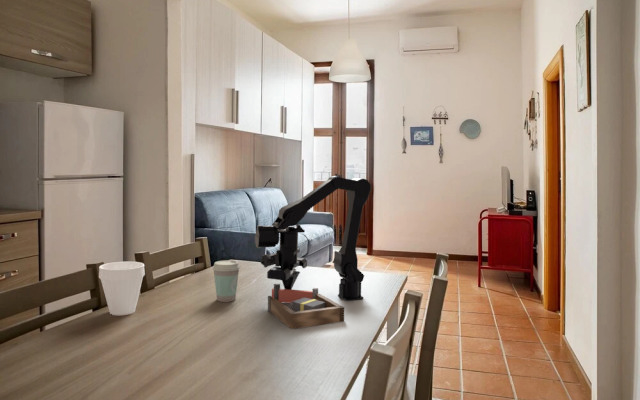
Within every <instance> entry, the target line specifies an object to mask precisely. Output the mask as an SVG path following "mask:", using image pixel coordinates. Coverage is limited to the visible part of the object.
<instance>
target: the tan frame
mask: <svg viewBox="0 0 640 400" xmlns="http://www.w3.org/2000/svg"><path fill="white" fill-rule="evenodd" d="M315 300H318V301H322V302H326V308H321V309H314V310H306V311H298V312H294V311H292V308H290V307H288V306H287V305H285V304H284V303H283V302H279V301H278V300H277V299H273V297H272V295H267V311H268V312H269V313H270V314H271V315H272V316H274V317H275V318H277V319H278V320H279V321H280V322H282V323H283V324H284V325H286V326H287V327H289V329H291V330H293V329H301V328H308V327H315V326H321V325H322V326H323V325H327V324H328V325H329V324H334V323H336V324H337V323H343V322H345V306H342V305H341V304H339V303H337V302H335V301H334V300H332V299H330V298H328V297H326V296H325V295H323V294H321V293H318V294H315Z"/></svg>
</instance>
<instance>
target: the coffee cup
mask: <svg viewBox="0 0 640 400" xmlns="http://www.w3.org/2000/svg"><path fill="white" fill-rule="evenodd" d="M240 267H241V266H240V264H239V261H237V260H229V259H227V260H226V259H225V260H218V261H215V262H214V264H213V266H212V270H213V274H214V275H213V276H214V282H215V283H214V284H215V285H214V286H215V294H216V300H217V301H218V302H221V303H223V302H224V303H226V302H227V303H228V302H233V301H235V300H236V298H237V289H238V282H239V281H238V280H239V271H240V269H241V268H240Z"/></svg>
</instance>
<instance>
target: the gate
mask: <svg viewBox="0 0 640 400" xmlns="http://www.w3.org/2000/svg"><path fill="white" fill-rule="evenodd" d="M315 294H319V288H318V287H313V288H312V289H311V290H300V289H284V288H281V284H280V283H274V284H273V288H272V289H271V296H272V297H273V299H277V300H278V301H279V302H281V303H282V304H284V303H285V304H292V301H295V300H298V299H301V298H309V299H315Z"/></svg>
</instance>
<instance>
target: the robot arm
mask: <svg viewBox="0 0 640 400" xmlns="http://www.w3.org/2000/svg"><path fill="white" fill-rule="evenodd" d="M337 190H343V191H346V197H347V202H348V207H347V212H346V213H347V215H346V220H345V226H344V232H343V237H342V238H343V239H342V243H341V247H340V248H339V250H338V251H337V250H334V255H333V260H332V263H333V268H334V269H335V271H336V272H337V273H338V275H339V277H340V279H339V280H340V283H339V284H338V294H337V296H338V297H339V298H341V299H343V300H345V301H354V300H356V301H357V300H361V299H362V300H363V299H364V296H362V282H363V280H364V278H365V275H364V273H363V272H362V271H361V270H360V269H359V268H358V255H357V244H358V238H359V232H360V227H361V220H362V214H363V208H364V206H365V204H366V202H367V201H368V199H369V197H370V193H371V191H372V185H371V183H370V181H369V180H368V179H366V178H360V177H359V178H358V177H357V178H356V177H355V178H352V179H350V178H345V177H341V176H337V175H332V176H330V177H328V179H326V180H325V181H324V182H323V183H321V184H320V185H318V186H317V187H316V188H314V189H313V190H311V191H310V192H309V193H308V194H306V195H305V196H303V197H301V198H300V199H299V200H295V201H292V202H291V203H288V204H286V205H284V206H282V207H281V208H280V209H279V210H278V215H277V217H276V218H275V220H274V221H273V222H272V224H271V225H262V224H257V226H256V231H255V234H254V242H255V247H256V248H258V249H260V248H261V249H263V248H275V247H276V246H277V245H278V246H279V248H278V249H276V251H275V253H272V254H269V253H266V254H263V255H261V258H260V264H261V265H262V266H263V267H264V268H268V267H270V266H274V267H272V268H269V270H267V272H266V277H267V279H270V280H275V281H277V280H278V281H282V285H283V289H291V290H293V289H292V288H293V287H294V285H295V283H296V281H297V279H298V277H299V274H300V273H301V271H297V268H298V267H299V266H300V267H301V268H302V269H306V268H307V267H308V260H307V259H306V258H305V257H298V254H299V253H300V252H301V251H300V250H301V248H299V233H300V234H301V233H305V229H304V228H303V227H302V226H301V224H299V223H300V221H302V220H303V218H304V217H305V216H306V215H307V213H308V212H309V211H310V210H311V209H312V208H314V207H315V206H317V205H318V204H319V203H320V202H322V201H323V200H325V199H326V198H327V197H328V196H330V195H331V194H333V193H334V192H335V191H337Z"/></svg>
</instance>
